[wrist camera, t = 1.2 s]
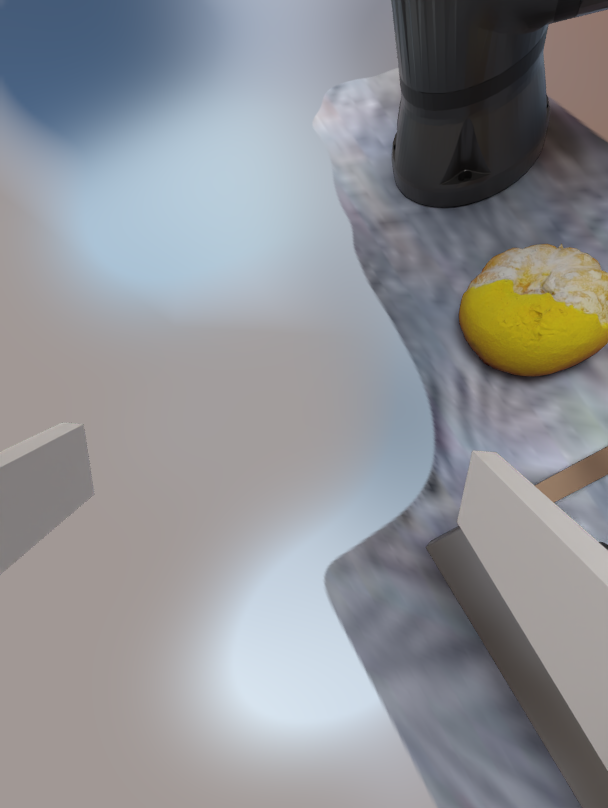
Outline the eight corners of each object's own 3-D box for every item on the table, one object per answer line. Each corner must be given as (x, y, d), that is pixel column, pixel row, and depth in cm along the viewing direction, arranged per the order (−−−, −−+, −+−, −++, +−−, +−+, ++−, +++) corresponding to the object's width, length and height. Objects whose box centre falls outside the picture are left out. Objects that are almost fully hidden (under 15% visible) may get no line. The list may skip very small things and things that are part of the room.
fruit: (650, 327, 26) (681, 286, 20) (519, 406, 31) (510, 393, 24) (545, 240, 31) (543, 184, 25) (445, 319, 35) (422, 290, 29)
